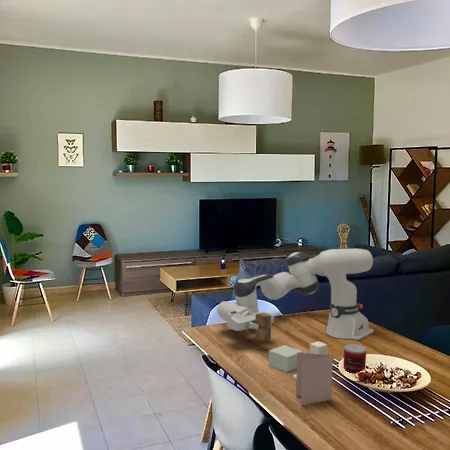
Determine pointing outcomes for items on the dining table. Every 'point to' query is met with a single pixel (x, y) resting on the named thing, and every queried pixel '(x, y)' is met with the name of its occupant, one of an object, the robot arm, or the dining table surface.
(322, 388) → the greeting card
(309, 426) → the dining table surface
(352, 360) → the canned food
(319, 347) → the offwhite post
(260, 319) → the walnut post
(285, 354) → the sage block
